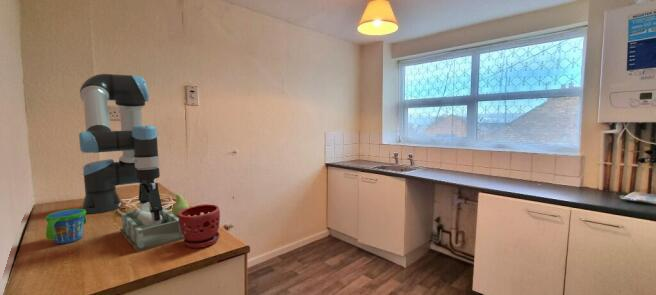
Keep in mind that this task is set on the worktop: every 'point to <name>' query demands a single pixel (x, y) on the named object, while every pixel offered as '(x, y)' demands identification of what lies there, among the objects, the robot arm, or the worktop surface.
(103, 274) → the worktop surface
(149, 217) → the light bulb
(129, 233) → the grey plastic crate
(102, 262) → the worktop surface
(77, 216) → the blue plastic tub
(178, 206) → the fruit
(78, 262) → the worktop surface
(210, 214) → the plant pot
